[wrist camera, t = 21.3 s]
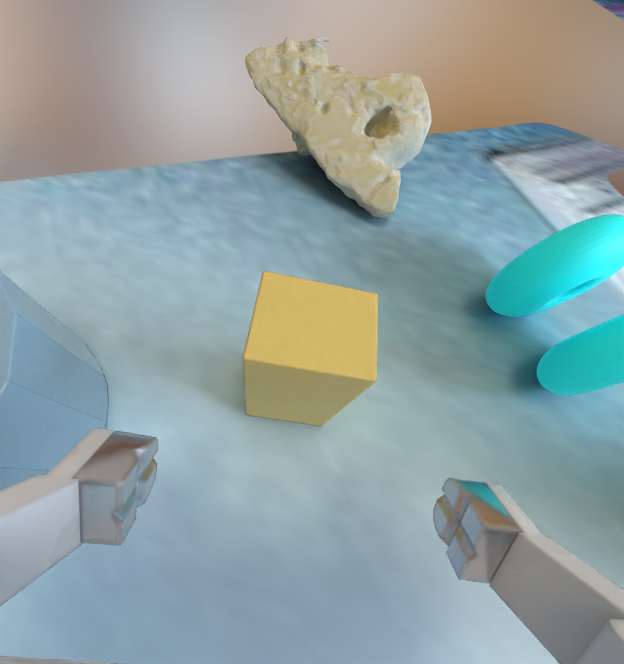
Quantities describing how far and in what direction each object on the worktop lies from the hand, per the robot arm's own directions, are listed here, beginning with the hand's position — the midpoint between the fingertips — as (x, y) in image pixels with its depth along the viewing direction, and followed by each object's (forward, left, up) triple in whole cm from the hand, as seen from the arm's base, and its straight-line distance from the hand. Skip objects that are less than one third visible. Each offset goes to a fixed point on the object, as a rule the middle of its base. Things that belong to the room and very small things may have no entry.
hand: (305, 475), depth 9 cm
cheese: (+28, 0, -11) cm, 31 cm away
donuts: (+13, -20, -11) cm, 27 cm away
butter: (+5, 0, -11) cm, 12 cm away
